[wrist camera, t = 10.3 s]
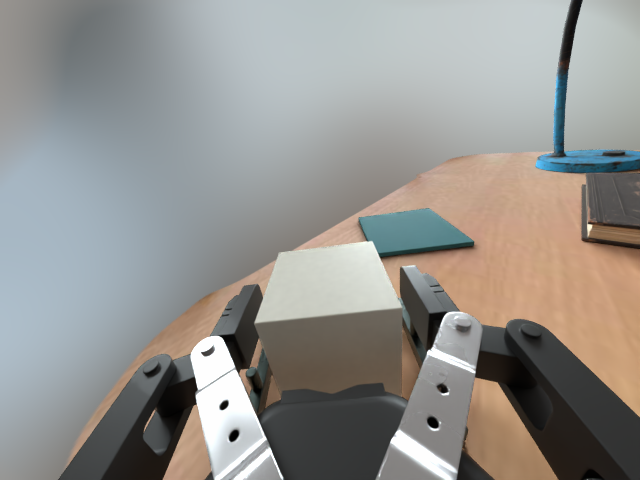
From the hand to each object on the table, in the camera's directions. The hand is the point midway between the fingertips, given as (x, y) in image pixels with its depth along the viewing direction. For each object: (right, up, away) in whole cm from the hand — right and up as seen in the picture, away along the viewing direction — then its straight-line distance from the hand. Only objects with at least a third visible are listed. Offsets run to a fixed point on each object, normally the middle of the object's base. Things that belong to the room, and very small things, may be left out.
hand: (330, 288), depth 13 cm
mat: (+12, +4, +21) cm, 24 cm away
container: (+1, -7, +2) cm, 7 cm away
